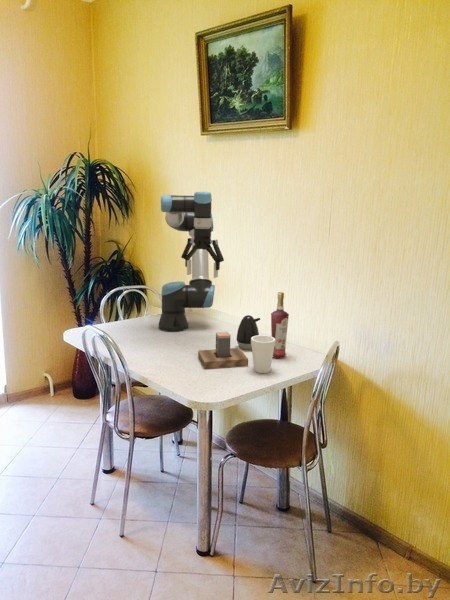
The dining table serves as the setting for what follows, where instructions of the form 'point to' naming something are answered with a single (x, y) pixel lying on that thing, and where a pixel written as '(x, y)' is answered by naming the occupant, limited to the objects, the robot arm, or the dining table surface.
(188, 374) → the dining table surface
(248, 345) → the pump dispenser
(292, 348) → the dining table surface
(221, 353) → the grey tall block
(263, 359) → the foam cup
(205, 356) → the socket plate
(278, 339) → the liquor
